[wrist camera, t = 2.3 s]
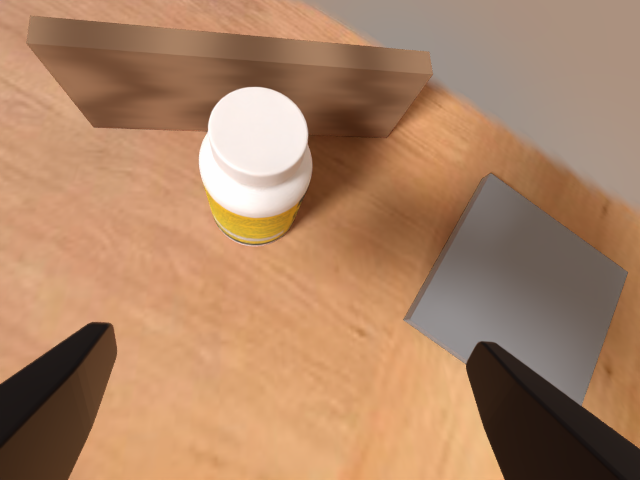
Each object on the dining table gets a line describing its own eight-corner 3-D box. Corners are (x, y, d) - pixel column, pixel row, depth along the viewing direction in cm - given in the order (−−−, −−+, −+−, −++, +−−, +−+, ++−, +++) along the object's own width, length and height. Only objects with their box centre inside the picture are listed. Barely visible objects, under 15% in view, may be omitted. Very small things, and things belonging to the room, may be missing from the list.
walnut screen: (93, 127, 22) (26, 43, 16) (95, 106, 23) (30, 15, 16) (386, 137, 26) (432, 74, 20) (384, 119, 27) (429, 51, 20)
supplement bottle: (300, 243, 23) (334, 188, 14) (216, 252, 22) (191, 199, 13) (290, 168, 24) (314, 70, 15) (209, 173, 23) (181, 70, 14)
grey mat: (558, 429, 24) (571, 434, 23) (403, 319, 23) (409, 319, 22) (614, 274, 27) (628, 272, 26) (482, 178, 27) (490, 172, 26)
